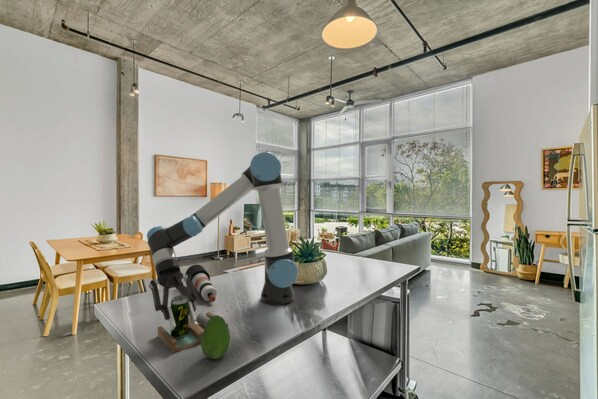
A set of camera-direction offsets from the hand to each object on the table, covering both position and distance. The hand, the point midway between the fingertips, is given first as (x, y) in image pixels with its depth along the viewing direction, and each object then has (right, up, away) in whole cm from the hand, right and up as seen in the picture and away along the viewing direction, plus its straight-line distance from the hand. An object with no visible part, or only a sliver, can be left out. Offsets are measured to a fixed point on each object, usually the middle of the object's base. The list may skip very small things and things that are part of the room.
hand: (184, 324), depth 87 cm
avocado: (+12, -6, -8) cm, 16 cm away
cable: (-10, -6, +46) cm, 48 cm away
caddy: (+1, -6, +6) cm, 8 cm away
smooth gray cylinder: (+4, -5, +9) cm, 11 cm away
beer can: (-3, -5, +3) cm, 6 cm away
